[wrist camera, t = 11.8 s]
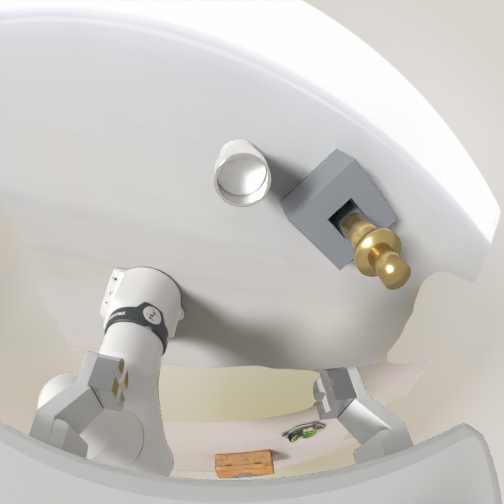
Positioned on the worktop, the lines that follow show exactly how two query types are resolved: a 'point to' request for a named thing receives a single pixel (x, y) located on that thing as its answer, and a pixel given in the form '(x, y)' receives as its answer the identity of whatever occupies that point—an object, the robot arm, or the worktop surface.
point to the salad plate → (303, 431)
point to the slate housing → (335, 205)
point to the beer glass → (241, 174)
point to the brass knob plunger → (376, 250)
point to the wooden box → (244, 464)
